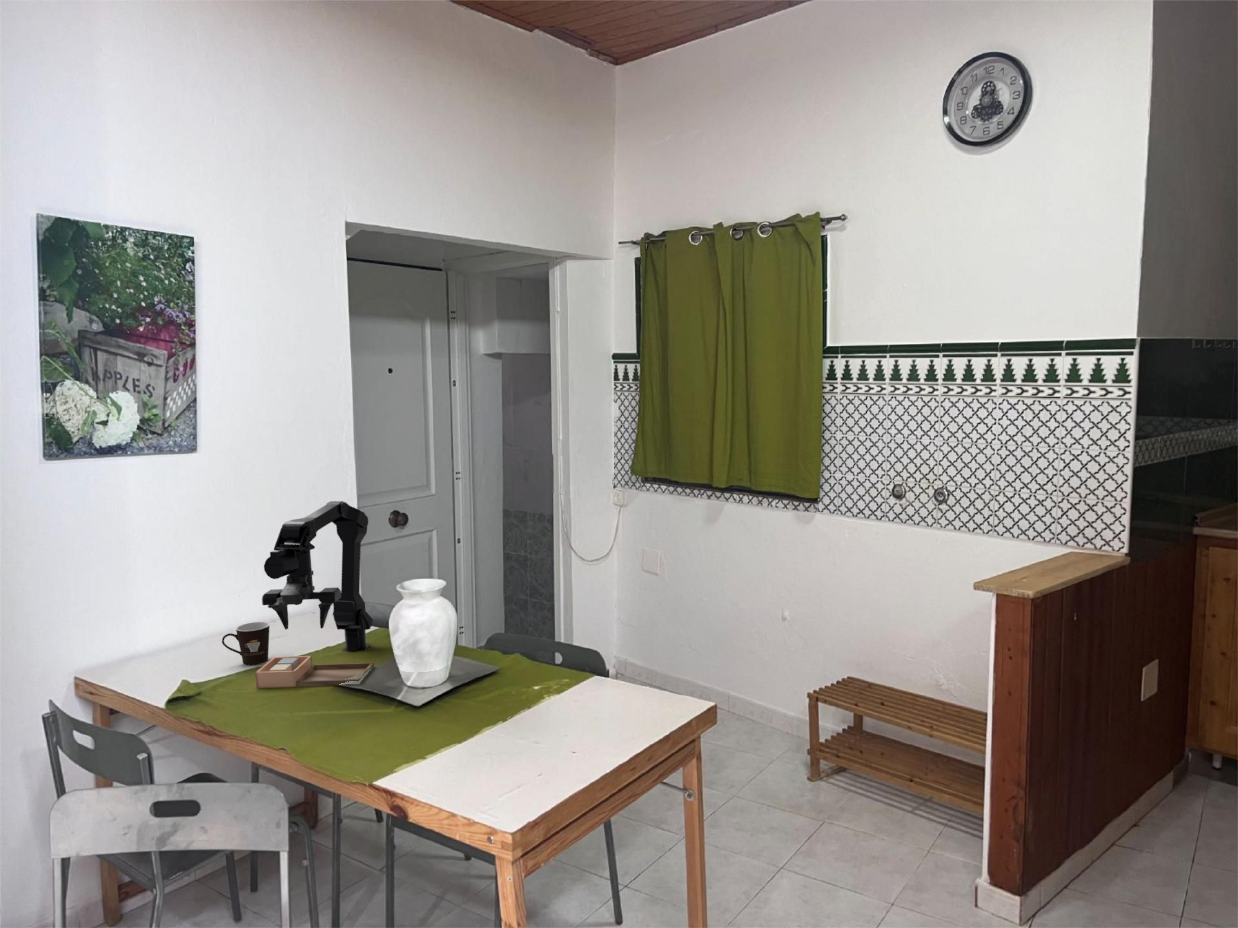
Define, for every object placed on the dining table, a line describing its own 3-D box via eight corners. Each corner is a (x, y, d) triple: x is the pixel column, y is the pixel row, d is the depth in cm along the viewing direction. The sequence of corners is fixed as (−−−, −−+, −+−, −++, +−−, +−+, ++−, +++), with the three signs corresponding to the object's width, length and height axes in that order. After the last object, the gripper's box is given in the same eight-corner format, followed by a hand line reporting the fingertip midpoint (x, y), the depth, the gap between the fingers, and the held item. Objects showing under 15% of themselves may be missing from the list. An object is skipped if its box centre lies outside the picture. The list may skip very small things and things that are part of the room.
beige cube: (277, 679, 231) (275, 664, 231) (292, 679, 231) (291, 664, 231) (270, 685, 227) (269, 669, 227) (286, 684, 227) (285, 669, 227)
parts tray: (314, 670, 239) (313, 664, 238) (374, 669, 238) (373, 662, 238) (296, 688, 226) (295, 681, 225) (359, 686, 225) (359, 679, 225)
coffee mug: (277, 656, 252) (275, 621, 251) (262, 666, 243) (259, 630, 242) (238, 656, 253) (235, 621, 252) (222, 666, 245) (219, 631, 243)
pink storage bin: (275, 673, 238) (273, 656, 237) (312, 672, 238) (311, 655, 237) (256, 689, 226) (255, 672, 225) (296, 688, 226) (294, 671, 225)
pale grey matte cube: (284, 672, 236) (283, 658, 236) (299, 672, 236) (298, 657, 235) (278, 678, 232) (277, 663, 232) (293, 677, 232) (292, 662, 232)
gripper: (250, 578, 223) (255, 639, 225) (325, 575, 223) (330, 636, 224) (268, 568, 234) (273, 626, 236) (339, 565, 234) (343, 623, 236)
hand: (304, 628), depth 233 cm, fingers open, 9 cm apart
